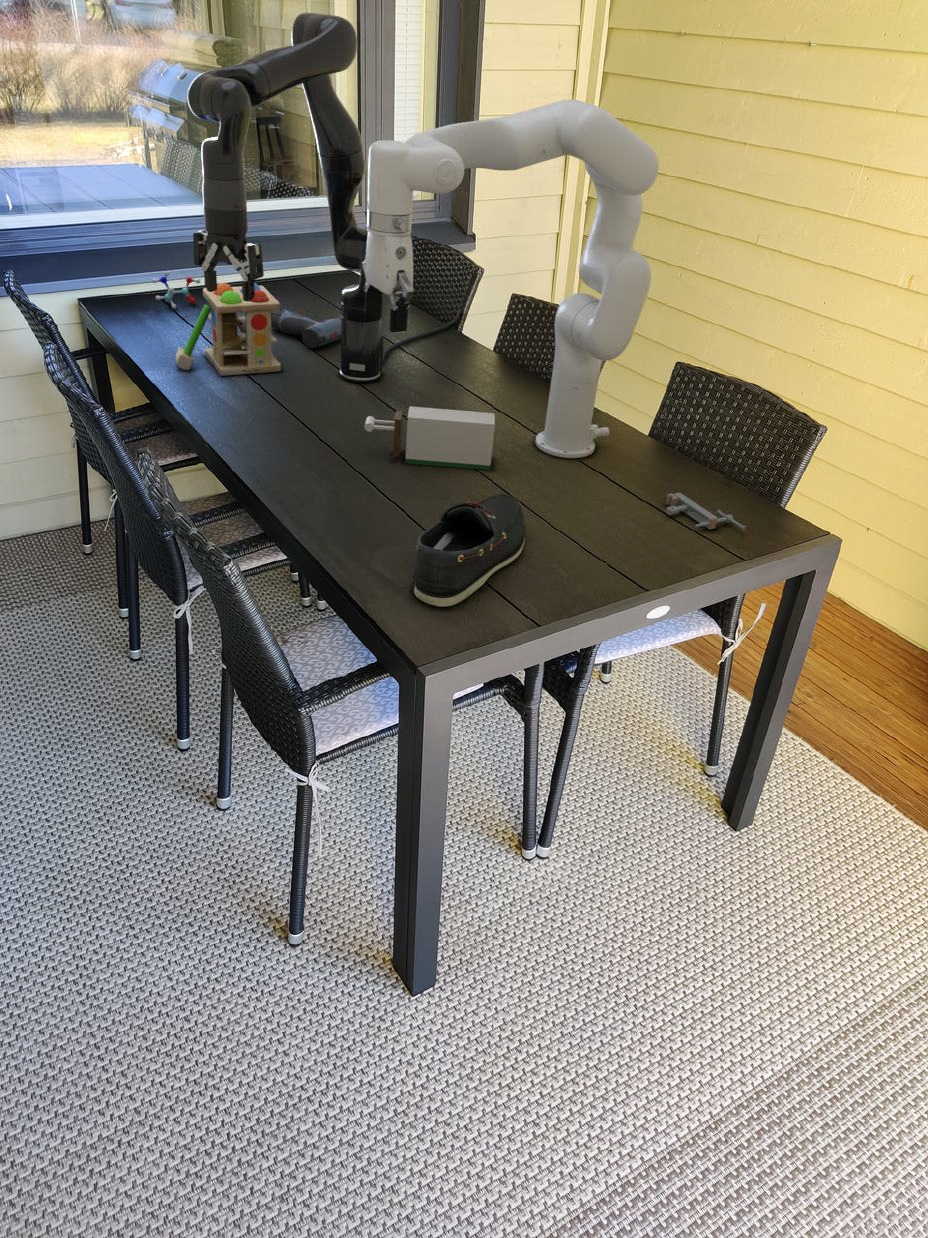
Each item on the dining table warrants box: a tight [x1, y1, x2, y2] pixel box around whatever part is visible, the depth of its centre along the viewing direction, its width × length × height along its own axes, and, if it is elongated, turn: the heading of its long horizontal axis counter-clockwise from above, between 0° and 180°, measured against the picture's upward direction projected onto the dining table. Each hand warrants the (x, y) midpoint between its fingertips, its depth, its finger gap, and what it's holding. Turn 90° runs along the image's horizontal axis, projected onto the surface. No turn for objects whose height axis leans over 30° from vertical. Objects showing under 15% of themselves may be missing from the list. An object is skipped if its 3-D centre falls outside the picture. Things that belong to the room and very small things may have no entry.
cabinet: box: [404, 405, 496, 471], centre depth 195 cm, size 17×6×10 cm, turn 89°
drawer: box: [363, 410, 403, 458], centre depth 195 cm, size 22×4×8 cm, turn 89°
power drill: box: [271, 308, 341, 349], centre depth 252 cm, size 5×19×20 cm
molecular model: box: [151, 270, 201, 310], centre depth 262 cm, size 12×10×10 cm
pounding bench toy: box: [174, 282, 282, 377], centre depth 225 cm, size 23×14×18 cm, turn 116°
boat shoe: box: [412, 493, 526, 608], centre depth 163 cm, size 13×33×10 cm, turn 147°
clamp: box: [665, 492, 747, 532], centre depth 184 cm, size 15×2×10 cm
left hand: (229, 295), depth 184 cm, fingers open, 8 cm apart
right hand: (385, 322), depth 175 cm, fingers open, 9 cm apart
